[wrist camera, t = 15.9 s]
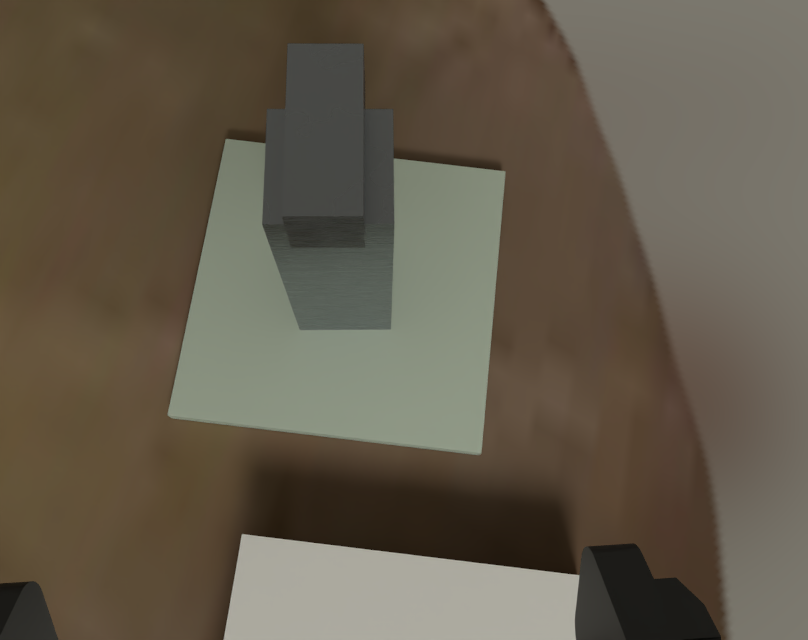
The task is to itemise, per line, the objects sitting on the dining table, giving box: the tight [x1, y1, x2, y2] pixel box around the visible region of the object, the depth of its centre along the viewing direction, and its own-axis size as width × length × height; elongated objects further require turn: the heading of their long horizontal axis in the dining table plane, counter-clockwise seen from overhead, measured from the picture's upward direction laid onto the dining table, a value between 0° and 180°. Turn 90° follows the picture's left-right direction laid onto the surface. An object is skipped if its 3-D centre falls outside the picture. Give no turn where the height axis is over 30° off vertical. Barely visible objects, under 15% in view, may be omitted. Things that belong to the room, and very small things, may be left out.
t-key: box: [262, 44, 394, 330], centre depth 25 cm, size 4×5×12 cm
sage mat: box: [168, 139, 505, 455], centre depth 32 cm, size 12×12×1 cm
